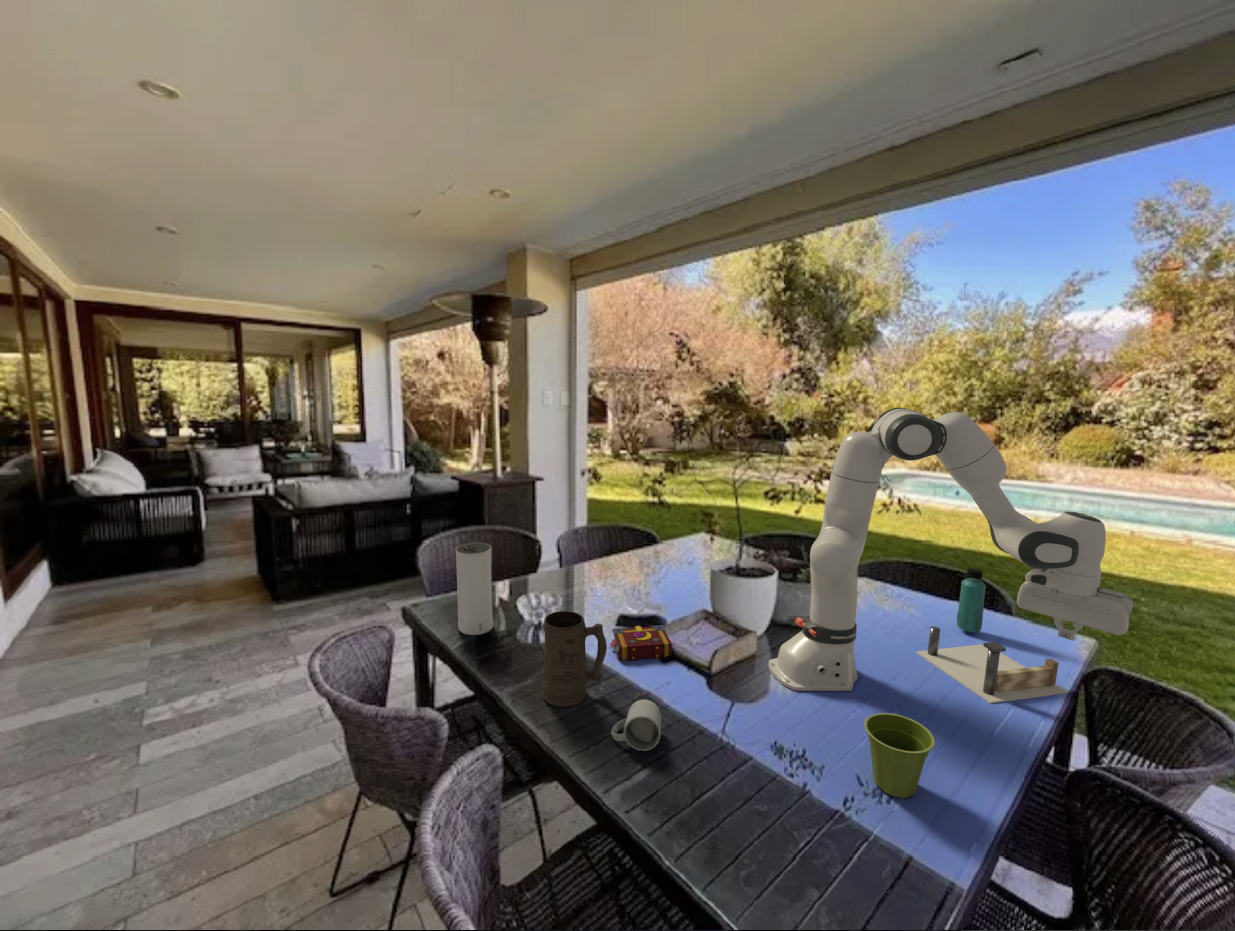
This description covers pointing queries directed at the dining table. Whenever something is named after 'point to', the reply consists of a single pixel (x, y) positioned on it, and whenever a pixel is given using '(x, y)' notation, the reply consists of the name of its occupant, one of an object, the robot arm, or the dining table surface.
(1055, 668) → the gate
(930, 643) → the post
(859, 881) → the dining table surface
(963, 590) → the beverage bottle
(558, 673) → the beer stein
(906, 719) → the plant pot
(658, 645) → the decorative book
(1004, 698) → the mat
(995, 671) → the gate post
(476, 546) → the speaker
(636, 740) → the ceramic mug
